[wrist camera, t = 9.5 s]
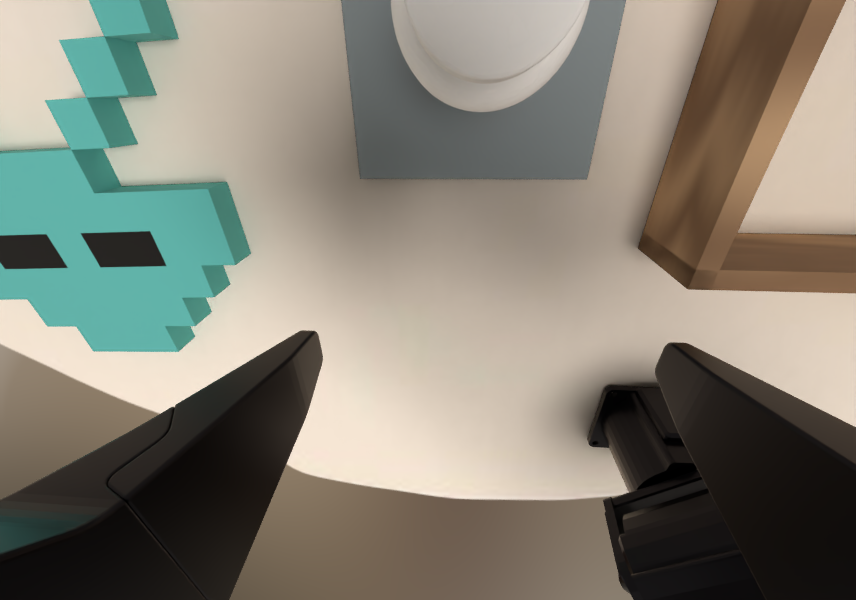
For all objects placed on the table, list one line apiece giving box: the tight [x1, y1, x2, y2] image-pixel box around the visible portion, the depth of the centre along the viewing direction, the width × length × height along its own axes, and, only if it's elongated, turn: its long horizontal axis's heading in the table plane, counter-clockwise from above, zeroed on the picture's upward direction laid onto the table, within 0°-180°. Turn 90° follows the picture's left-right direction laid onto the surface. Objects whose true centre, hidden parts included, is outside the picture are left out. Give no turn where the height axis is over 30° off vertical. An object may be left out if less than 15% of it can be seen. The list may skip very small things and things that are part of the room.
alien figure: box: [0, 0, 251, 352], centre depth 21 cm, size 20×2×20 cm
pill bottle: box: [391, 0, 590, 112], centre depth 11 cm, size 6×5×10 cm
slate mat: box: [341, 0, 626, 179], centre depth 15 cm, size 12×12×1 cm
